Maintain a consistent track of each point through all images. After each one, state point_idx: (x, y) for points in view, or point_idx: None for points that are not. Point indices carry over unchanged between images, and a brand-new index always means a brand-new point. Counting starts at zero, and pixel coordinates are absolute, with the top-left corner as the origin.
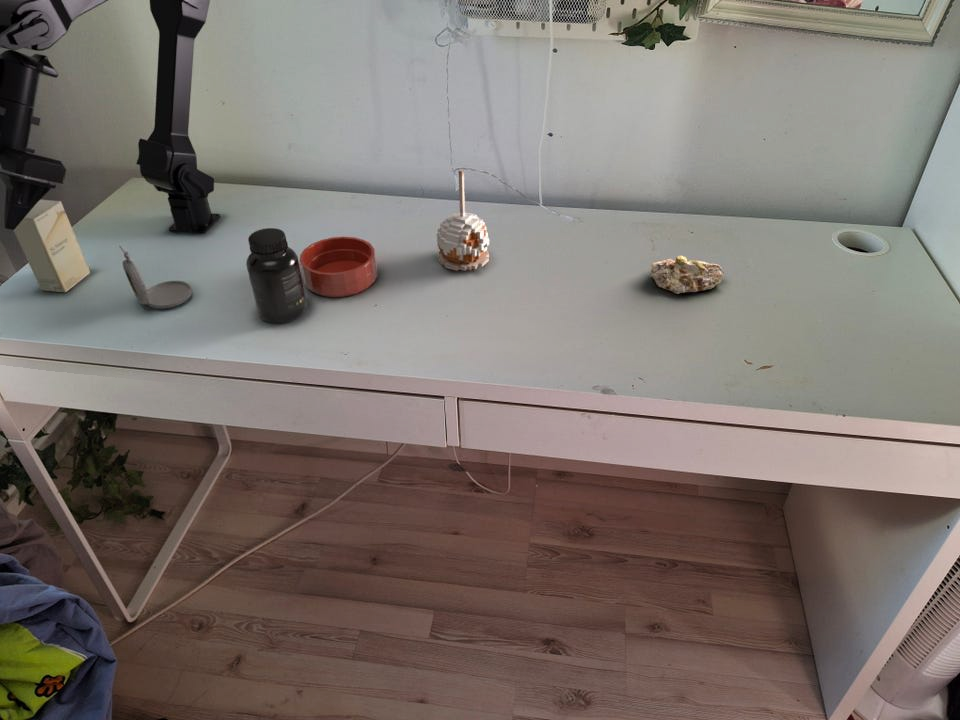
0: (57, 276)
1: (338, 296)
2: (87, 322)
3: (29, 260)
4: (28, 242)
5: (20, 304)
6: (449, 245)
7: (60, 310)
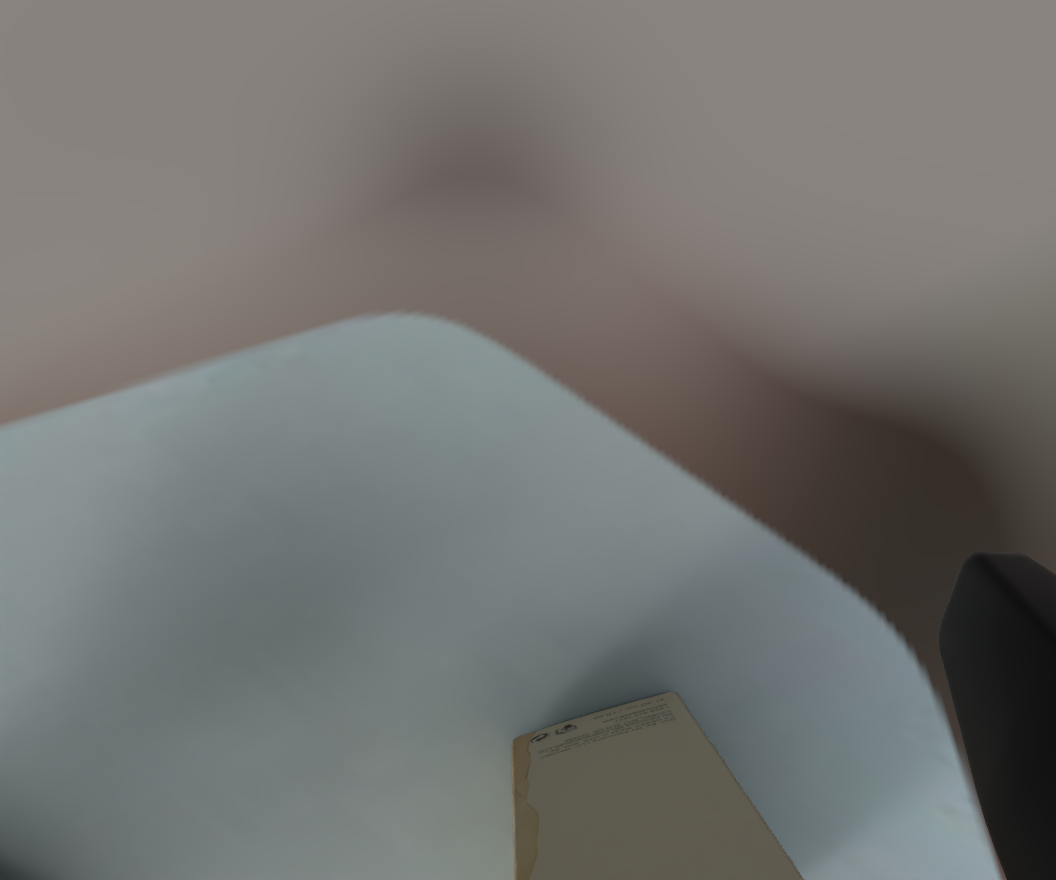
0: (516, 777)
1: None
2: (139, 588)
3: (704, 766)
4: (664, 857)
5: (661, 533)
6: None
7: (387, 599)
